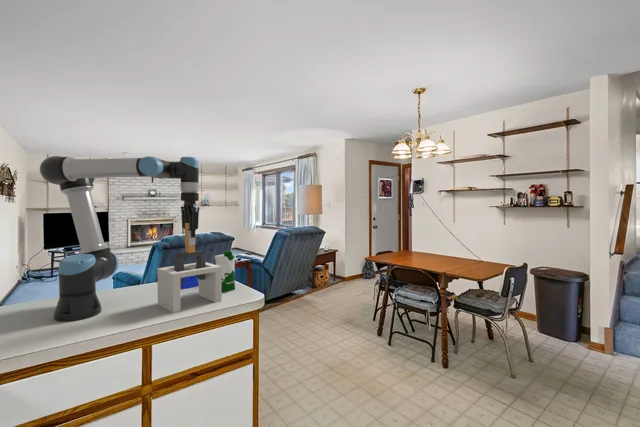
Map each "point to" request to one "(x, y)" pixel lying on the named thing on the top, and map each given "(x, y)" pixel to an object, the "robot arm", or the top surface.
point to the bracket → (189, 282)
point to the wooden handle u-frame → (189, 253)
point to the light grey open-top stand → (171, 279)
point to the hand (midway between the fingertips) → (190, 244)
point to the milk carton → (227, 270)
